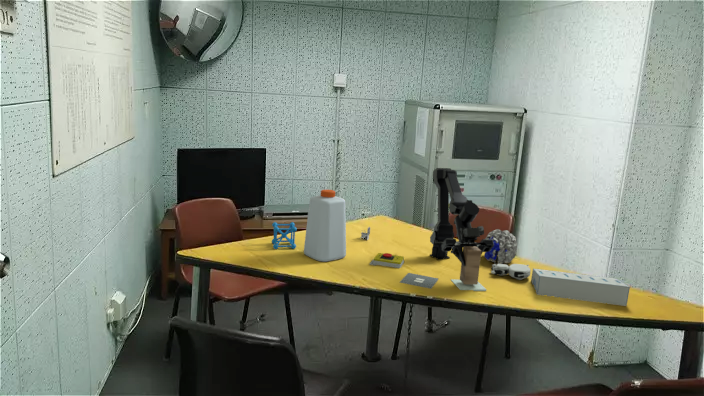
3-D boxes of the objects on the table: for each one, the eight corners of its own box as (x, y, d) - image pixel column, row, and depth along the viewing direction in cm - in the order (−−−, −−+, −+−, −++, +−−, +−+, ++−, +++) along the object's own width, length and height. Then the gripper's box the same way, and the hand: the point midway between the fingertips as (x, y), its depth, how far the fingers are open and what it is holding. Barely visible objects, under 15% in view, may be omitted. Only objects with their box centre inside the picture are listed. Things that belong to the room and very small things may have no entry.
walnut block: (459, 279, 185) (463, 246, 182) (472, 279, 186) (476, 246, 183) (464, 284, 180) (468, 250, 178) (477, 284, 181) (481, 250, 178)
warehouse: (613, 292, 187) (616, 273, 186) (626, 307, 173) (629, 286, 172) (530, 282, 193) (533, 263, 191) (536, 295, 179) (539, 275, 177)
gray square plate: (408, 273, 192) (408, 272, 192) (438, 279, 188) (438, 278, 188) (399, 283, 181) (399, 282, 181) (431, 289, 177) (431, 288, 177)
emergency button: (375, 249, 209) (410, 254, 204) (374, 259, 209) (409, 264, 205) (369, 255, 200) (406, 260, 196) (368, 265, 201) (405, 271, 197)
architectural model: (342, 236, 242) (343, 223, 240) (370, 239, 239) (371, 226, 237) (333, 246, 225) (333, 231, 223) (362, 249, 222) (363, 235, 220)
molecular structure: (273, 249, 212) (273, 227, 210) (271, 243, 222) (272, 221, 220) (296, 249, 215) (297, 227, 213) (293, 242, 224) (294, 221, 222)
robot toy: (489, 279, 194) (530, 283, 189) (490, 268, 193) (530, 272, 189) (491, 270, 206) (529, 274, 201) (492, 260, 205) (530, 263, 200)
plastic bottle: (299, 253, 209) (302, 188, 203) (327, 248, 219) (331, 186, 213) (321, 263, 198) (324, 195, 192) (349, 257, 208) (354, 192, 202)
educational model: (480, 274, 215) (480, 247, 207) (486, 244, 230) (487, 219, 221) (513, 278, 210) (515, 252, 202) (518, 248, 225) (519, 222, 216)
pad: (450, 280, 187) (450, 279, 187) (475, 281, 189) (475, 279, 189) (460, 290, 178) (460, 289, 177) (486, 291, 179) (486, 289, 179)
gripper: (447, 217, 181) (454, 255, 172) (495, 218, 184) (504, 256, 175) (438, 232, 190) (444, 269, 181) (484, 233, 193) (492, 269, 184)
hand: (471, 265), depth 180 cm, fingers closed on walnut block, 5 cm apart
